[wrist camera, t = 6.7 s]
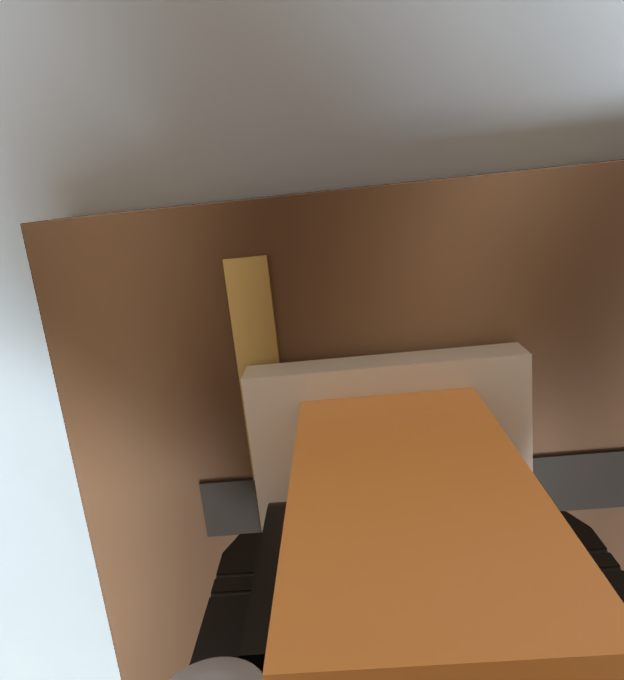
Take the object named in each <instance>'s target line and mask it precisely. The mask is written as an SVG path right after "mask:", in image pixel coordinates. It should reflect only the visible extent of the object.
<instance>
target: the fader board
mask: <svg viewBox="0 0 624 680" xmlns="http://www.w3.org/2000/svg"><path fill="white" fill-rule="evenodd" d="M20 225H21V229H22V234H23V238H24V243H25V247H26V252H27V256H28V261H29V265H30V270H31V274H32V279H33V283H34V288H35V292H36V297H37V302H38V306H39V311H40V315H41V320H42V324H43V329H44V333H45V338H46V342H47V347H48V351H49V356H50V360H51V365H52V369H53V374H54V378H55V383H56V387H57V392H58V396H59V401H60V405H61V410H62V414H63V419H64V423H65V428H66V432H67V437H68V441H69V446H70V450H71V455H72V459H73V464H74V468H75V473H76V477H77V482H78V487H79V491H80V496H81V500H82V505H83V509H84V514H85V518H86V523H87V527H88V532H89V536H90V541H91V545H92V550H93V554H94V559H95V563H96V568H97V572H98V577H99V581H100V586H101V590H102V595H103V599H104V604H105V608H106V613H107V617H108V622H109V626H110V631H111V635H112V640H113V644H114V649H115V653H116V658H117V663H118V667H119V672H120V676H121V680H170V679H171V678H172V677H173V676H174V675H175V674H177V673H178V672H180V671H181V670H183V669H184V668H186V667H188V666H189V664H190V661H191V658H192V654H193V651H194V648H195V644H196V641H197V637H198V634H199V631H200V627H201V624H202V621H203V617H204V614H205V610H206V607H207V604H208V600H209V597H211V590H212V587H213V583H214V580H215V579H216V573H217V570H218V566H219V563H220V560H221V556H222V553H223V552H224V551H225V550H226V549H227V547H228V546H229V545H230V544H231V543H232V542H233V541H234V540H235V539H236V538H237V536H238V535H239V534H247V533H260V532H262V530H261V523H260V515H259V508H258V501H257V494H256V486H255V479H254V472H253V465H252V458H251V450H250V443H249V436H248V429H247V422H246V414H245V407H244V400H243V393H242V386H241V378H242V376H243V373H244V371H245V369H246V367H247V366H252V365H264V364H275V363H286V362H298V361H309V360H320V359H331V358H343V357H354V356H365V355H377V354H388V353H399V352H411V351H422V350H433V349H444V348H456V347H467V346H478V345H490V344H501V343H512V342H518V343H519V344H520V345H522V346H523V347H524V348H525V349H526V350H528V351H529V352H530V353H531V354H532V424H533V473H534V475H535V476H536V478H537V479H538V481H539V482H540V484H541V485H542V486H543V488H544V489H545V491H546V492H547V494H548V495H549V496H550V498H551V499H552V501H553V502H554V504H555V505H556V507H557V508H558V509H559V511H567V512H568V513H570V514H571V515H573V516H574V517H576V518H577V519H579V520H581V521H582V522H584V523H585V524H587V525H588V526H590V527H592V529H593V530H594V531H595V533H596V534H597V535H598V537H599V538H600V539H601V541H602V542H603V543H604V545H605V546H606V547H607V551H608V552H610V553H611V554H612V555H613V557H614V558H615V559H616V561H617V562H618V563H619V565H620V567H621V570H624V159H623V160H613V161H604V162H594V163H585V164H575V165H566V166H556V167H546V168H537V169H527V170H518V171H508V172H499V173H489V174H479V175H470V176H460V177H451V178H441V179H431V180H422V181H412V182H403V183H393V184H384V185H374V186H364V187H355V188H345V189H336V190H326V191H317V192H307V193H297V194H288V195H278V196H269V197H259V198H250V199H240V200H230V201H221V202H211V203H202V204H192V205H182V206H173V207H163V208H154V209H144V210H135V211H125V212H115V213H106V214H96V215H87V216H77V217H68V218H60V219H52V220H44V221H37V222H29V223H21V224H20Z"/></svg>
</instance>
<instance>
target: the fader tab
mask: <svg viewBox="0 0 624 680" xmlns="http://www.w3.org/2000/svg"><path fill="white" fill-rule="evenodd" d="M241 386H242V393H243V400H244V407H245V414H246V422H247V429H248V436H249V443H250V450H251V458H252V465H253V472H254V479H255V486H256V494H257V501H258V508H259V515H260V523H261V530H262V531H263V526H264V521H265V516H266V511H267V506H268V504H269V503H274V502H287V503H286V510H285V517H284V524H283V532H282V539H281V546H280V553H279V560H278V567H277V574H276V582H275V589H274V596H273V603H272V610H271V617H270V624H269V631H268V639H267V646H266V653H265V660H264V667H263V674H262V676H263V680H624V603H623V601H622V600H621V598H620V597H619V596H618V594H617V593H616V591H615V590H614V588H613V587H612V585H611V584H610V583H609V581H608V580H607V578H606V577H605V575H604V574H603V573H602V571H601V570H600V568H599V567H598V565H597V564H596V563H595V561H594V560H593V558H592V557H591V555H590V554H589V552H588V551H587V550H586V548H585V547H584V545H583V544H582V542H581V541H580V540H579V538H578V537H577V535H576V534H575V532H574V531H573V529H572V528H571V527H570V525H569V524H568V522H567V521H566V519H565V518H564V517H563V515H562V514H561V512H560V511H559V509H558V508H557V507H556V505H555V504H554V502H553V501H552V499H551V498H550V496H549V495H548V494H547V492H546V491H545V489H544V488H543V486H542V485H541V484H540V482H539V481H538V479H537V478H536V476H535V475H534V473H533V424H532V354H531V353H530V352H529V351H528V350H526V349H525V348H524V347H523V346H522V345H520V344H519V343H518V342H512V343H501V344H490V345H478V346H467V347H456V348H444V349H433V350H422V351H411V352H399V353H388V354H377V355H365V356H354V357H343V358H331V359H320V360H309V361H298V362H286V363H275V364H264V365H252V366H247V367H246V369H245V371H244V373H243V376H242V378H241Z"/></svg>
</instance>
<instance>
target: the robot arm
mask: <svg viewBox="0 0 624 680" xmlns="http://www.w3.org/2000/svg"><path fill="white" fill-rule="evenodd" d="M286 503H287V502H274V503H269V504H268V506H267V511H266V516H265V521H264V526H263V531H262V532H260V533H247V534H239V535H238V536H237V538H236V539H235V540H234V541H233V542H232V543H231V544H230V545H229V546H228V547H227V549H226V550H225V551H224V552H223V553H222V556H221V560H220V563H219V566H218V570H217V573H216V579H215V580H214V583H213V587H212V590H211V597H209V600H208V604H207V607H206V610H205V614H204V617H203V621H202V624H201V627H200V631H199V634H198V637H197V641H196V644H195V648H194V651H193V654H192V658H191V661H190V664H189V666H188V667H186V668H184V669H183V670H181V671H180V672H178V673H177V674H175V675H174V676H173V677H172V678H171V679H170V680H263V676H262V674H263V667H264V660H265V653H266V646H267V639H268V631H269V624H270V617H271V610H272V603H273V596H274V589H275V582H276V574H277V567H278V560H279V553H280V546H281V539H282V532H283V524H284V517H285V510H286ZM560 512H561V514H562V515H563V517H564V518H565V519H566V521H567V522H568V524H569V525H570V527H571V528H572V529H573V531H574V532H575V534H576V535H577V537H578V538H579V540H580V541H581V542H582V544H583V545H584V547H585V548H586V550H587V551H588V552H589V554H590V555H591V557H592V558H593V560H594V561H595V563H596V564H597V565H598V567H599V568H600V570H601V571H602V573H603V574H604V575H605V577H606V578H607V580H608V581H609V583H610V584H611V585H612V587H613V588H614V590H615V591H616V593H617V594H618V596H619V597H620V598H621V600H622V601H623V603H624V570H621V567H620V565H619V563H618V562H617V561H616V559H615V558H614V557H613V555H612V554H611V553H610V552H608V551H607V547H606V546H605V545H604V543H603V542H602V541H601V539H600V538H599V537H598V535H597V534H596V533H595V531H594V530H593V529H592V527H590V526H588V525H587V524H585V523H584V522H582V521H581V520H579V519H577V518H576V517H574V516H573V515H571V514H570V513H568V512H567V511H560Z"/></svg>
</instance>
